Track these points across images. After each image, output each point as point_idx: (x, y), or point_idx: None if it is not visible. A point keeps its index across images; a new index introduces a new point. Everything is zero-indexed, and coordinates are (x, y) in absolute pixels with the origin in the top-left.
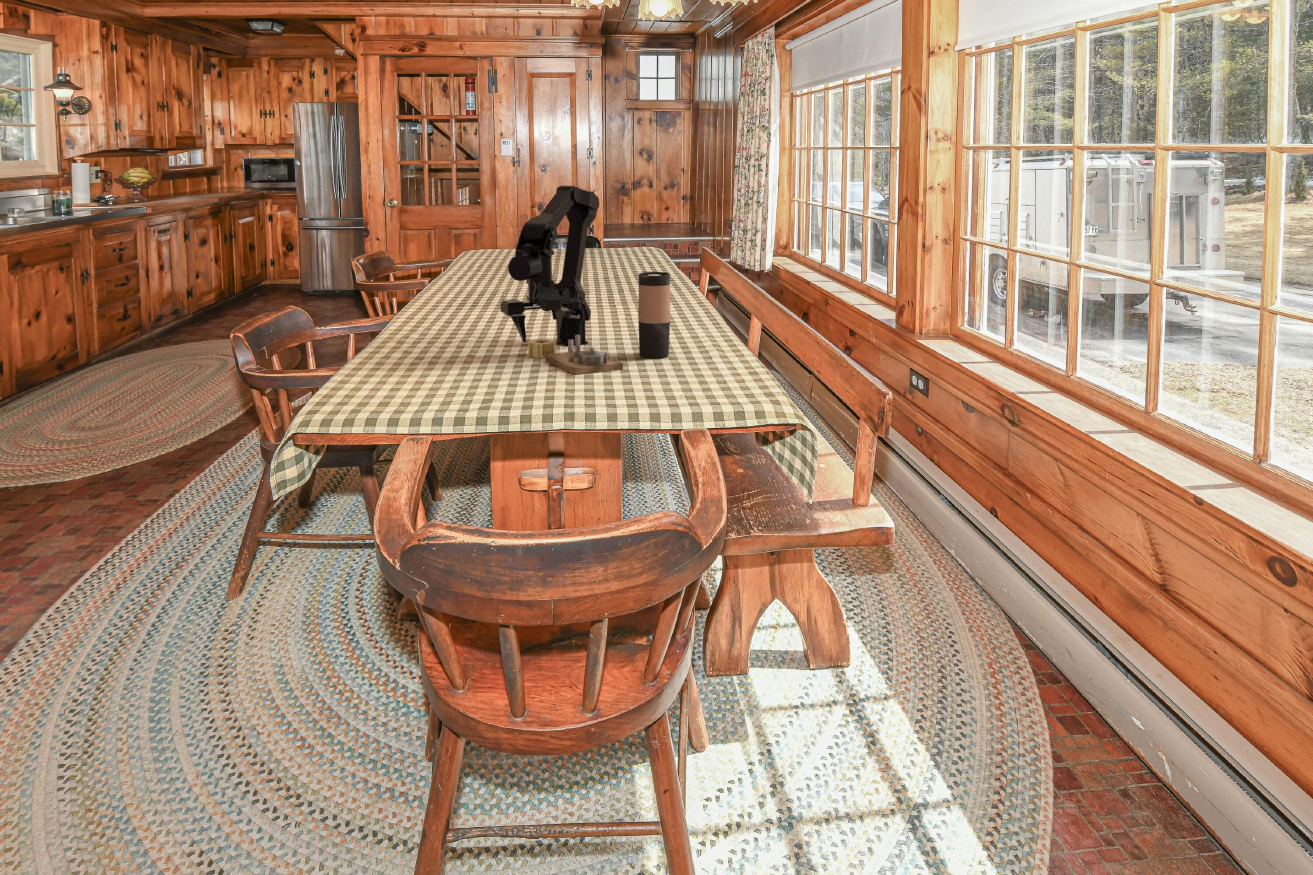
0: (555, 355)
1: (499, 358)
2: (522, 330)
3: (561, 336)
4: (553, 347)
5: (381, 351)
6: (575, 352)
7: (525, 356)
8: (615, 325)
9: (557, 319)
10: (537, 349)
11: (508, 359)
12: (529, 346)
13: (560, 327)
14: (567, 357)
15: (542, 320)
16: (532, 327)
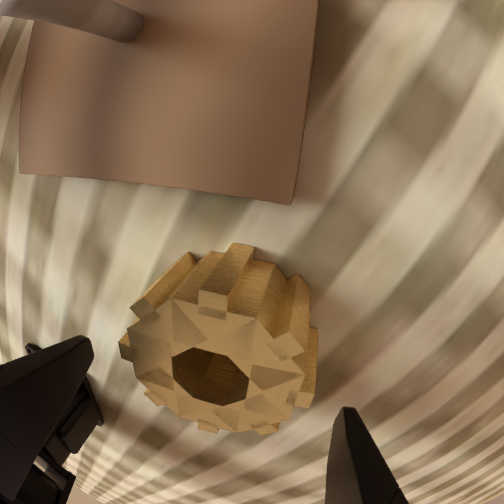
0: (241, 121)
1: (431, 387)
2: (387, 482)
3: (69, 339)
4: (166, 285)
5: (482, 498)
6: (127, 17)
7: None
8: None
9: (29, 446)
10: (296, 310)
11: (425, 354)
12: (315, 377)
13: (34, 378)
14: (204, 15)
15: (105, 492)
16: (129, 493)
